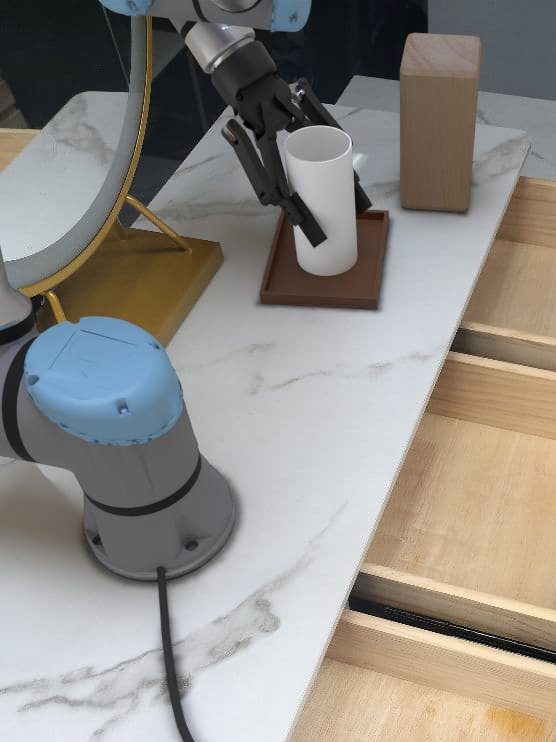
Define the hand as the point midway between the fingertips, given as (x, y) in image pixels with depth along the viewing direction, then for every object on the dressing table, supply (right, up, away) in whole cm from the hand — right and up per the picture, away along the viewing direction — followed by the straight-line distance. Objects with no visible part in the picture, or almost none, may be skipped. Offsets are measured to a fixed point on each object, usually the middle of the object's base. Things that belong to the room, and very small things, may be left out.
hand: (343, 226), depth 105 cm
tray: (-3, -2, +7) cm, 7 cm away
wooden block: (+13, +11, +16) cm, 23 cm away
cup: (-3, -2, +6) cm, 7 cm away
